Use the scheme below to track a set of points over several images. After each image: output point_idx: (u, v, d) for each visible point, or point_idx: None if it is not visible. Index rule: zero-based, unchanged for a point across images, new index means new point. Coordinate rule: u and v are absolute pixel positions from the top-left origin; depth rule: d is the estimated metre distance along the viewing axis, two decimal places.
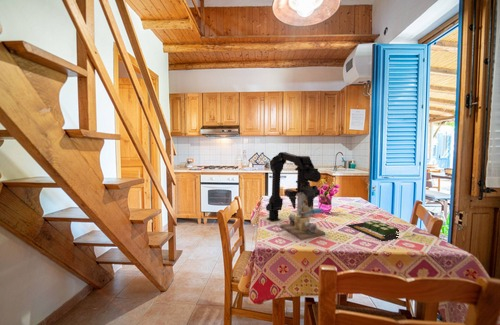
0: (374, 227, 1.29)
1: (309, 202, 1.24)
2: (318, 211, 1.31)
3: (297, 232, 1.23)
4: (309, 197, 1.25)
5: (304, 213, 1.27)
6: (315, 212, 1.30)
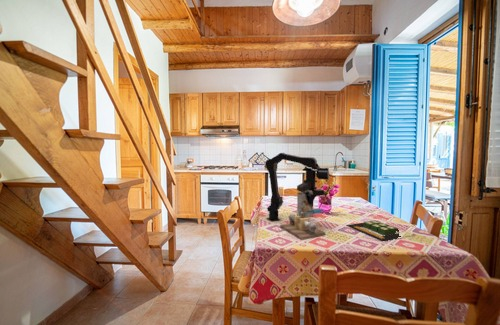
0: (374, 227, 1.29)
1: None
2: (318, 211, 1.31)
3: (297, 232, 1.23)
4: None
5: (304, 213, 1.27)
6: (315, 212, 1.30)
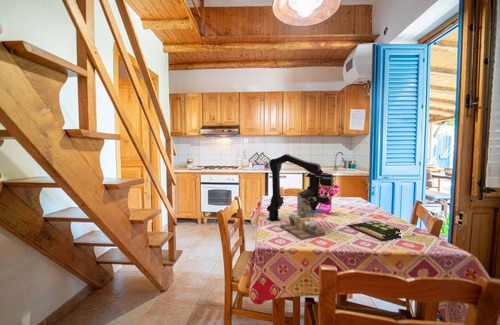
0: (374, 227, 1.29)
1: None
2: (318, 211, 1.31)
3: (297, 232, 1.23)
4: None
5: (304, 213, 1.27)
6: (315, 212, 1.30)
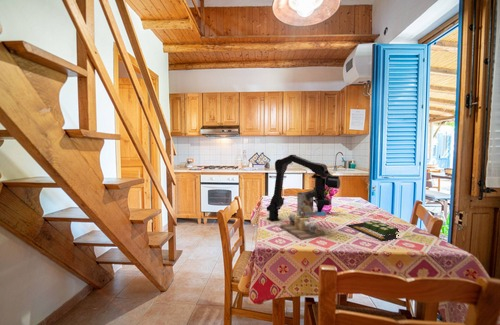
0: (374, 227, 1.29)
1: None
2: (321, 213, 1.26)
3: (297, 232, 1.23)
4: None
5: (303, 213, 1.26)
6: (317, 214, 1.26)
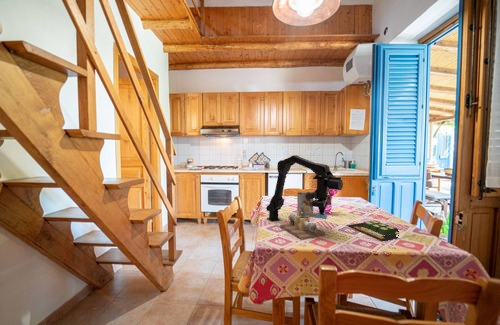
0: (374, 227, 1.29)
1: None
2: (321, 216, 1.22)
3: (297, 232, 1.23)
4: None
5: (302, 213, 1.26)
6: (316, 216, 1.23)
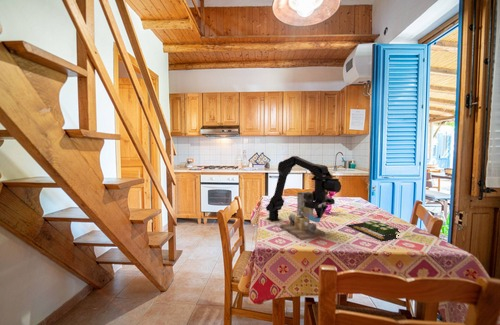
0: (374, 227, 1.29)
1: None
2: (312, 218, 1.18)
3: (297, 232, 1.23)
4: None
5: (300, 213, 1.27)
6: (309, 218, 1.20)
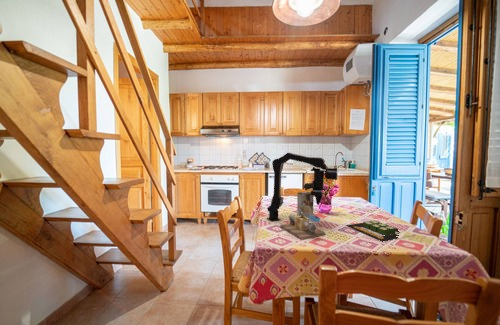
0: (373, 227, 1.29)
1: None
2: (312, 218, 1.18)
3: (297, 232, 1.23)
4: None
5: (300, 213, 1.27)
6: (309, 218, 1.20)
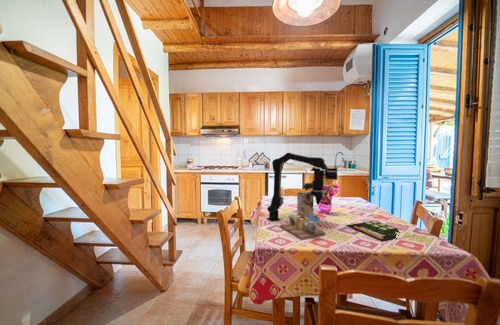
0: (373, 227, 1.29)
1: None
2: (312, 218, 1.18)
3: (297, 232, 1.23)
4: None
5: (300, 213, 1.27)
6: (309, 218, 1.20)
